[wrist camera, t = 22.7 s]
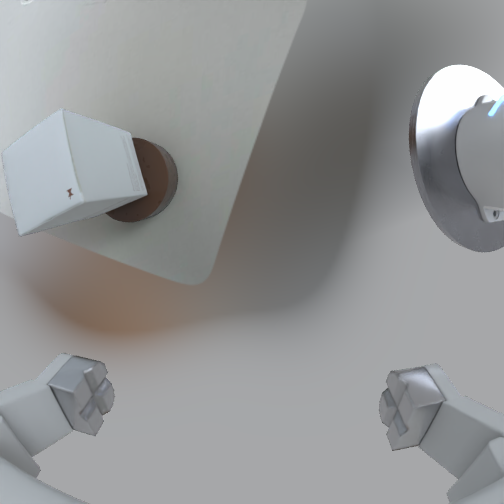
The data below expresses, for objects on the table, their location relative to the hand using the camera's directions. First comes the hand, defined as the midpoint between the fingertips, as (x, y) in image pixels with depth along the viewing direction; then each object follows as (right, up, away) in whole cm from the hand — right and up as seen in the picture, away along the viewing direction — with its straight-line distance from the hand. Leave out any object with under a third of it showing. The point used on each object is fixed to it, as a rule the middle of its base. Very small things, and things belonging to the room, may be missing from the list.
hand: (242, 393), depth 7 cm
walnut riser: (-13, +12, +25) cm, 30 cm away
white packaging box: (-15, +12, +21) cm, 28 cm away
